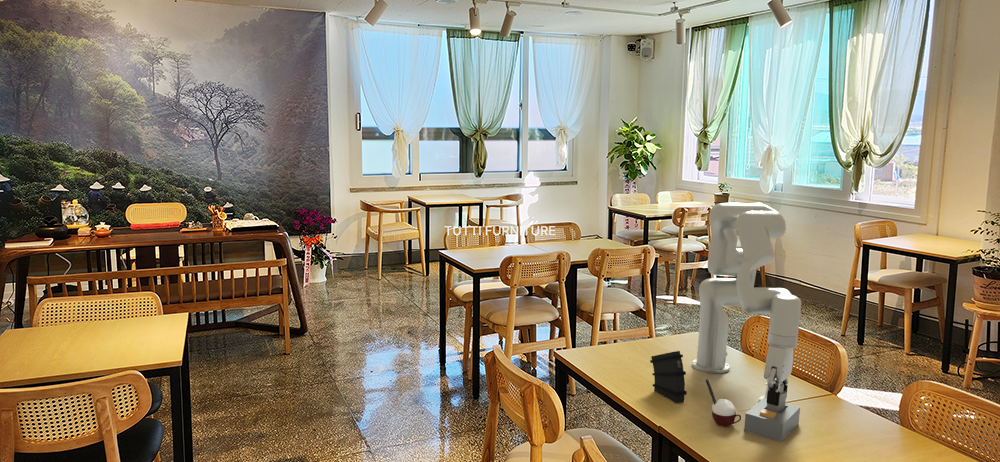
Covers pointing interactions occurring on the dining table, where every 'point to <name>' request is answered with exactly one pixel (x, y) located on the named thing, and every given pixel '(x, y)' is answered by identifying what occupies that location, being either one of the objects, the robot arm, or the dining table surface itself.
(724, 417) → the cocoa
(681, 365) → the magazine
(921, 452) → the dining table surface
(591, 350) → the dining table surface
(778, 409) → the power adapter
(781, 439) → the socket block
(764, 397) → the chess piece
